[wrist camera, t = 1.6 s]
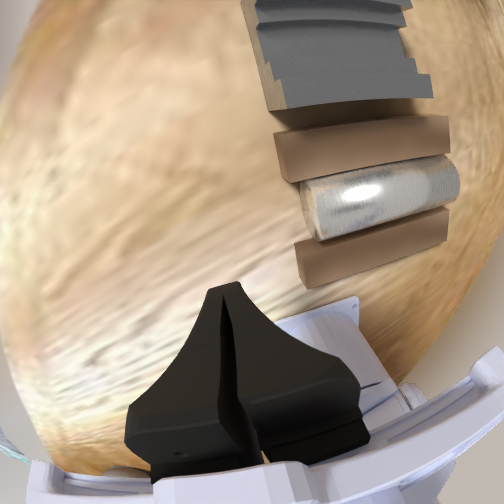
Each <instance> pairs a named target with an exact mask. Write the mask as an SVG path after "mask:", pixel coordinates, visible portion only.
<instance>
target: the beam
mask: <svg viewBox="0 0 504 504" xmlns="http://www.w3.org/2000/svg"><path fill="white" fill-rule="evenodd" d="M273 135H274V140H275V145H276V149H277V154H278V159H279V164H280V169H281V174H282V177H283V178H284V179H285V180H286V181H288V182H289V183H293V182H297V181H302V180H306V179H310V178H315V177H319V176H324V175H329V174H333V173H338V172H343V171H348V170H353V169H358V168H363V167H368V166H373V165H378V164H384V163H390V162H395V161H401V160H407V159H413V158H419V157H426V156H432V155H439V154H446V153H450V135H449V121H448V116H441V115H408V116H392V117H380V118H369V119H360V120H351V121H343V122H336V123H329V124H322V125H316V126H310V127H304V128H298V129H292V130H287V131H282V132H277V133H273ZM448 221H449V210H448V209H447V208H445V207H443V206H439V207H436V208H432V209H429V210H426V211H422V212H419V213H415V214H412V215H409V216H405V217H402V218H398V219H395V220H392V221H388V222H385V223H381V224H378V225H374V226H371V227H368V228H364V229H361V230H357V231H354V232H350V233H347V234H343V235H340V236H336V237H333V238H329V239H326V240H322V241H316V240H315V239H314V238H311V239H308V240H304V241H301V242H297V243H294V245H295V251H296V257H297V263H298V269H299V276H300V278H301V280H302V282H303V283H304V285H305V287H306V289H311V288H314V287H317V286H320V285H323V284H327V283H330V282H333V281H336V280H339V279H342V278H345V277H348V276H351V275H354V274H357V273H360V272H363V271H366V270H369V269H372V268H374V267H377V266H380V265H383V264H386V263H389V262H391V261H394V260H397V259H400V258H402V257H405V256H408V255H411V254H413V253H416V252H419V251H421V250H424V249H427V248H429V247H432V246H434V245H437V244H439V243H442V242H445V241H447V232H448Z"/></svg>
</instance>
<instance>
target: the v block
mask: <svg viewBox="0 0 504 504" xmlns="http://www.w3.org/2000/svg"><path fill="white" fill-rule="evenodd" d="M240 3H241V6H242V10H243V14H244V17H245V21H246V24H247V28H248V32H249V35H250V39H251V43H252V47H253V50H254V54H255V58H256V62H257V66H258V70H259V74H260V78H261V82H262V87H263V91H264V95H265V99H266V104H267V108H268V111H272V110H282V109H290V108H296V107H303V106H309V105H317V104H325V103H334V102H343V101H354V100H368V99H388V98H433V91H432V84H431V79H430V75H429V74H418V73H417V67H416V63H415V59H414V58H405V55H404V50H403V46H402V42H401V38H400V34H399V31H398V29H400V28H404V27H407V26H406V23H405V19H404V16H403V13H402V12H403V11H406V10H409V9H412V8H413V7H412V4H411V1H410V0H241V2H240Z"/></svg>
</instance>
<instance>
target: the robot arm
mask: <svg viewBox="0 0 504 504" xmlns="http://www.w3.org/2000/svg"><path fill="white" fill-rule="evenodd" d="M359 302H360V300H359V298H358V297H357V296H352V297H349V298H346V299H343V300H340V301H337V302H334V303H331V304H328V305H325V306H322V307H319V308H316V309H313V310H310V311H307V312H304V313H300V314H297V315H294V316H291V317H287V318H284V319H281V320H277V321H275V322H274V323H273V322H272V321H271V320H270V319H269V318H267V317H266V316H265V315H264V314H263V313H262V312H261V311H260V310H259V309H258V308H257V307H256V306H255V304H254V303H253V302H252V301H251V300H250V299H249V297H248V296H247V294H246V293H245V292H244V290H243V288H242V286H241V284H240V282H238V281H236V282H232V283H228V284H225V285H221V286H217V287H214V288H210V289H209V290H208V291H207V294H206V297H205V300H204V303H203V305H202V308H201V311H200V313H199V315H198V318H197V320H196V322H195V325H194V327H193V329H192V331H191V333H190V335H189V337H188V338H187V340H186V342H185V344H184V345H183V347H182V349H181V350H180V352H179V353H178V355H177V356H176V358H175V359H174V360H173V362H172V363H171V364H170V366H169V367H168V368H167V369H166V371H165V372H164V373H163V374H162V375H161V376H160V378H159V379H158V380H157V381H156V382H155V383H154V384H153V385H152V386H151V387H150V388H149V389H148V390H147V391H146V392H145V393H143V394H142V395H141V396H140V397H139V398H138V399H136V400H135V401H134V402H133V403H132V404H130V405H129V408H128V413H127V418H126V427H125V437H124V442H125V444H126V446H127V447H128V448H129V449H130V450H131V451H132V452H133V453H134V454H136V455H137V456H139V457H140V458H142V459H143V460H144V461H146V462H147V463H149V464H150V465H151V478H118V477H104V476H93V475H85V474H77V473H70V472H64V471H63V470H62V469H61V468H59V467H58V466H56V465H54V464H51V463H48V462H44V461H39V460H35V459H34V460H32V464H31V469H30V475H29V481H28V487H27V494H26V502H25V504H440V503H439V501H438V499H437V496H438V494H439V493H440V491H441V489H442V488H443V486H444V485H445V483H446V481H447V480H448V478H449V476H450V474H451V472H452V471H453V468H454V467H455V464H456V462H455V460H454V459H455V458H456V457H458V456H459V455H460V454H462V453H463V452H464V451H466V450H467V449H468V448H470V447H471V446H472V445H473V444H475V443H476V442H477V441H478V440H480V439H481V438H482V437H483V436H484V435H485V434H487V433H488V432H489V431H490V430H491V429H492V428H494V427H495V426H496V425H497V424H498V423H499V422H500V421H501V420H502V419H503V418H504V353H503V352H502V351H501V350H500V349H499V348H498V346H494V347H493V348H491V349H490V350H489V351H488V352H487V353H485V354H484V355H482V356H481V357H480V358H479V359H478V360H477V361H476V362H475V363H474V364H473V366H472V368H471V370H470V372H469V374H468V375H467V376H466V377H464V378H463V379H461V380H460V381H458V382H457V383H456V384H454V385H453V386H451V387H450V388H448V389H446V390H445V391H443V392H442V393H440V394H438V395H437V396H435V397H434V398H432V399H430V400H429V401H428V400H427V399H426V397H425V396H424V394H423V393H422V391H421V390H420V389H419V387H418V386H417V385H416V384H413V383H408V382H404V383H403V384H401V385H400V387H401V389H402V391H403V392H404V394H405V397H406V399H407V401H408V403H409V404H410V406H411V407H412V409H411V407H410V406H409V404H408V403H407V401H406V399H405V398H404V396H403V394H402V393H401V391H400V390H399V389H398V387H397V385H396V384H395V382H394V381H393V380H392V378H390V376H389V375H388V373H387V371H386V370H385V368H384V367H383V365H382V364H381V362H380V360H379V359H378V357H377V356H376V354H375V353H374V351H373V350H372V348H371V347H370V345H369V344H368V342H367V340H366V339H365V337H364V336H363V334H362V333H361V331H360V330H359ZM353 305H354V306H353ZM255 430H256V431H255ZM256 434H257V435H256ZM261 451H263V452H264V454H265V455H266V457H267V459H268V460H269V462H270V463H268V464H265V463H264V459H263V456H262V453H261Z"/></svg>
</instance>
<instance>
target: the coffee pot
mask: <svg viewBox="0 0 504 504" xmlns="http://www.w3.org/2000/svg"><path fill="white" fill-rule="evenodd" d="M101 476H104V477H118V478H151V477H149V474H147V473H146V472H143V471H141V470H137V469H134V468H129V467H121V466H114V467H111V469H109V470H106V471H105V472H103V473H102V475H101Z"/></svg>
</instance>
